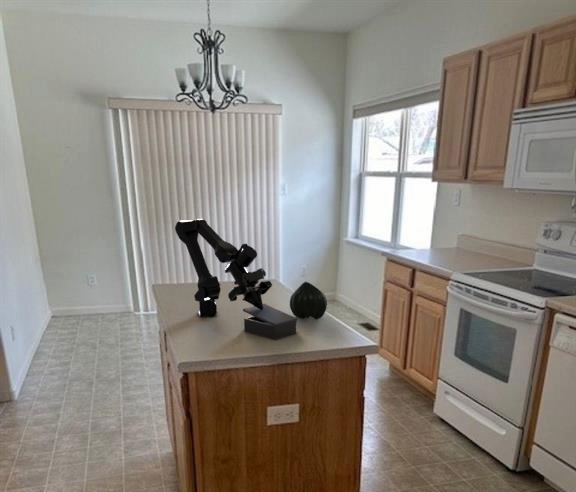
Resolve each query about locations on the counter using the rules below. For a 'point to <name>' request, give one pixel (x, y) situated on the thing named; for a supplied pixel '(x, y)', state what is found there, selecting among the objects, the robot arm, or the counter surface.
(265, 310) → the cover
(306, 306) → the squash
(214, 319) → the counter surface
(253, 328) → the case
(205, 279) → the robot arm
